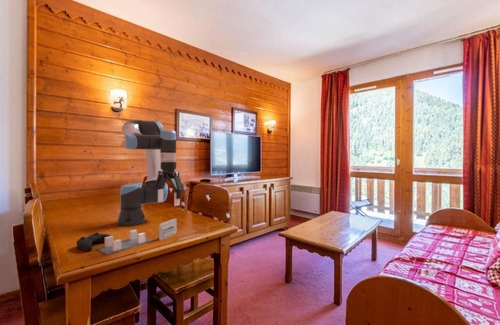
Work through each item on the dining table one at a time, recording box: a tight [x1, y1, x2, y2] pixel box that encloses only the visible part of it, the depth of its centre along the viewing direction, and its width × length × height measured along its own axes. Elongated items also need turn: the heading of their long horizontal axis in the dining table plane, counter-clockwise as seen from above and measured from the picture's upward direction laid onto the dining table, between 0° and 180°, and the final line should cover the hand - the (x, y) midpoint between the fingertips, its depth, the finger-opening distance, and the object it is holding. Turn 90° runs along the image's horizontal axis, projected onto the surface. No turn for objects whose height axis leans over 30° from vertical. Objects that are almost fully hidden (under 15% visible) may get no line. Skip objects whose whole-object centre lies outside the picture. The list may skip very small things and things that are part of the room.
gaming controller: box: [75, 232, 112, 252], centre depth 110 cm, size 14×6×10 cm
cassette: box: [158, 218, 178, 241], centre depth 123 cm, size 12×2×8 cm, turn 157°
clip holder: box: [96, 229, 153, 256], centre depth 110 cm, size 10×20×4 cm, turn 144°
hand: (168, 203), depth 122 cm, fingers open, 13 cm apart
